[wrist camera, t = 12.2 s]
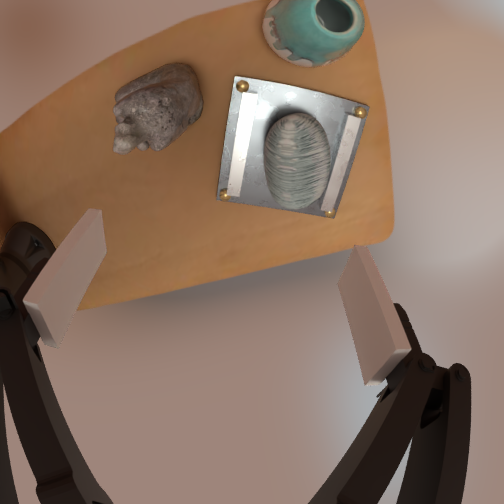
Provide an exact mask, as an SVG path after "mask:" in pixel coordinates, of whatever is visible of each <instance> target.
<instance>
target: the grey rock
mask: <svg viewBox="0 0 504 504" xmlns="http://www.w3.org/2000/svg"><path fill="white" fill-rule="evenodd" d="M330 165H331V158H330V146H329V142H328V138H327V135H326V132H325V130H324V129H323V127H322V125H321V124H320V122H319V121H318V120H317V119H315V118H314V117H312V116H310V115H307V114H303V113H294V114H290V115H287V116H285V117H283V118H281V119H280V120H278V121H277V122H276V123H275V124H274V125H273V126H272V127H271V129H270V130H269V132H268V134H267V137H266V140H265V145H264V169H265V175H266V180H267V184H268V189H269V191H270V193H271V195H272V197H273V199H274V200H275V201H276V202H277V203H278V204H280V205H281V206H283V207H285V208H288V209H293V210H296V209H302V208H305V207H307V206H309V205H311V204H312V203H314V202H315V201H316V200H317V199H318V198H319V197H320V196H321V194H322V193H323V191H324V189H325V187H326V185H327V181H328V177H329V171H330Z"/></svg>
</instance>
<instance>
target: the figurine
mask: <svg viewBox="0 0 504 504" xmlns="http://www.w3.org/2000/svg"><path fill="white" fill-rule="evenodd" d="M115 100H116V105H115V106H114V108H113V113H114V115H115V116H116V121H117V123H119V124H118V125H117V126H116V127H115V134H116V135H115V138H114V146H113V151H114V152H116V153H118V154H122V155H125V154H128V153H129V152H131V151H132V150H133V149H134V148H135V147H137V148H138V149H139V150H141V151H144V150H147V149H148V148H149V146H150V147H151V149H153V150H155V151H160V150H162V149H164V148H166V147H167V146H169V145H170V144H171V143H172V142H173V141H175V140H176V139H177V138H178V137H179V136H180V135H181V134H182V133H183V132H184V131H185V130H186V129H187V127H188V126H189V125H191V124H193V123H194V122H195V121H196V120H197V119H198V118H199V117H200V116H201V112H202V109H203V99H202V94H201V92H200V89H199V83H198V80H197V77H196V75H195V73H194V71H193V70H192V69H191V67H190V66H188V65H184V64H178V63H174V64H167V65H164V66H162V67H160V68H157V69H155V70H154V71H152V72H150V73H148V74H145V75H144V76H142V77H139V78H137V79H135V80H133V81H132V82H130V83H128V84H127V85H125V86H123V87H122V88H120V89H119V90H118V91H117V93H116V95H115Z"/></svg>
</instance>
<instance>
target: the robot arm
mask: <svg viewBox="0 0 504 504" xmlns="http://www.w3.org/2000/svg"><path fill="white" fill-rule="evenodd" d="M106 253H107V250H106V243H105V235H104V227H103V219H102V210H99V209H90V208H89V209H88V210H87V211H86V212H85V214H84V215H83V216H82V217H81V219H80V220H79V221H78V222H77V224H76V225H75V226H74V227H73V229H72V230H71V231H70V232H69V234H68V235H67V236H66V238H65V239H64V240H63V242H62V243H61V244H60V246H59V247H58V248H57V250H55V248H54V246H53V244H52V242H51V241H50V239H49V238H48V237H47V236H46V235H45V234H44V233H43V232H42V231H41V230H40V229H39V228H37V227H36V226H34V225H32V224H29V223H25V222H20V223H17V224H15V225H14V226H13V227H12V228H11V229H10V230H9V231H8V233H7V234H6V237H5V241H4V243H3V245H2V247H1V250H0V504H19V502H18V498H17V494H16V490H15V485H14V480H13V475H12V470H11V465H10V459H9V452H8V445H7V437H6V427H5V415H4V394H3V383H4V387H5V391H6V395H7V399H8V403H9V406H10V410H11V413H12V417H13V420H14V423H15V426H16V429H17V432H18V435H19V438H20V441H21V444H22V447H23V449H24V452H25V455H26V457H27V460H28V462H29V464H30V467H31V469H32V471H33V474H34V476H35V478H36V481H37V487H36V494H37V496H38V499H39V501H40V503H41V504H113V502H112V501H111V499H110V498H109V497H108V495H107V494H106V492H105V491H104V490H103V489H102V488H101V487H100V486H99V484H98V483H97V481H96V479H95V478H94V476H93V474H92V473H91V471H90V469H89V467H88V465H87V464H86V462H85V460H84V458H83V456H82V454H81V452H80V450H79V448H78V446H77V444H76V442H75V440H74V438H73V436H72V434H71V432H70V429H69V427H68V425H67V423H66V420H65V418H64V416H63V414H62V411H61V409H60V406H59V404H58V401H57V399H56V396H55V393H54V391H53V388H52V385H51V382H50V380H49V377H48V374H47V371H46V368H45V364H44V362H43V358H42V355H41V352H40V348H39V346H38V344H37V342H38V340H39V338H40V337H41V338H42V341H43V342H44V344H45V345H48V346H51V347H55V348H59V346H60V344H61V342H62V340H63V338H64V335H65V333H66V331H67V329H68V327H69V325H70V322H71V320H72V318H73V316H74V314H75V312H76V310H77V308H78V306H79V304H80V302H81V300H82V298H83V296H84V294H85V292H86V290H87V288H88V286H89V284H90V282H91V281H92V279H93V277H94V275H95V273H96V271H97V269H98V268H99V266H100V264H101V262H102V260H103V259H104V257H105V255H106ZM338 287H339V290H340V294H341V297H342V300H343V304H344V307H345V311H346V315H347V318H348V322H349V325H350V329H351V333H352V336H353V340H354V344H355V348H356V352H357V356H358V360H359V363H360V368H361V372H362V376H363V380H364V384H365V386H371V385H380V384H381V383H382V382H383V381H384V380H385V378H386V380H387V383H388V385H387V386H386V387H385V388H384V389H383V390H382V391H381V392H380V393H379V394H378V395H377V397H379V396H380V395H381V396H380V398H379V399H378V401H377V403H376V405H375V407H374V408H373V410H372V412H371V413H370V415H369V417H368V419H367V420H366V422H365V424H364V425H363V427H362V429H361V430H360V432H359V433H358V435H357V437H356V438H355V440H354V441H353V443H352V444H351V446H350V447H349V449H348V450H347V452H346V453H345V455H344V457H343V458H342V459H341V461H340V462H339V464H338V465H337V467H336V468H335V469H334V471H333V472H332V473H331V475H330V476H329V478H328V479H327V480H326V482H325V483H324V484H323V485H322V487H321V488H320V489H319V491H318V492H317V493H316V494H315V496H314V497H313V498H312V499H311V501H310V502H309V503H308V504H377V503H378V502H379V500H380V498H381V497H382V495H383V493H384V492H385V490H386V488H387V486H388V485H389V483H390V481H391V479H392V477H393V475H394V474H395V471H396V470H397V468H398V466H399V464H400V462H401V460H402V458H403V456H404V454H405V452H406V450H407V448H408V445H409V443H410V441H411V439H412V443H411V448H410V452H409V457H408V461H407V466H406V470H405V474H404V478H403V482H402V485H401V489H400V493H399V496H398V499H397V503H396V504H461V502H462V497H463V491H464V485H465V479H466V472H467V464H468V454H469V444H470V428H471V377H470V373H469V371H468V370H467V368H466V367H465V366H463V365H462V364H459V363H455V364H453V365H452V366H451V367H450V368H449V369H447V368H443V367H439V366H436V363H435V361H434V360H433V358H432V357H430V356H429V355H427V354H425V353H422V350H421V347H420V345H419V342H418V340H417V337H416V335H415V333H414V330H413V329H412V325H411V323H410V322H409V318H408V316H407V314H406V312H405V310H404V309H403V308H402V307H401V305H400V304H398V303H393V302H392V300H391V297H390V295H389V293H388V290H387V288H386V286H385V284H384V281H383V279H382V277H381V275H380V273H379V271H378V268H377V266H376V264H375V262H374V260H373V258H372V256H371V254H370V252H369V250H368V248H367V247H364V246H358V245H354V248H353V250H352V252H351V255H350V257H349V259H348V261H347V264H346V266H345V268H344V270H343V273H342V275H341V277H340V279H339V282H338ZM412 437H413V438H412Z"/></svg>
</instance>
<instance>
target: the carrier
mask: <svg viewBox="0 0 504 504" xmlns="http://www.w3.org/2000/svg"><path fill="white" fill-rule="evenodd" d="M368 111H369V106H367V105H364V104H361V103H358V102H354V101H351V100H348V99H344V98H341V97H337V96H333V95H330V94H326V93H322V92H318V91H314V90H310V89H305V88H301V87H297V86H292V85H287V84H282V83H277V82H272V81H266V80H260V79H254V78H248V77H241V76H235V79H234V85H233V91H232V97H231V103H230V109H229V115H228V122H227V128H226V135H225V141H224V148H223V155H222V162H221V169H220V177H219V184H218V192H217V200H221V201H228V202H235V203H242V204H249V205H255V206H262V207H268V208H275V209H281V210H287V211H293V212H299V213H305V214H311V215H317V216H323V217H328V218H335V215H336V212H337V209H338V206H339V203H340V200H341V197H342V194H343V192H344V189H345V186H346V183H347V179H348V176H349V173H350V170H351V167H352V164H353V161H354V158H355V154H356V151H357V148H358V145H359V141H360V138H361V135H362V131H363V128H364V125H365V121H366V118H367V114H368ZM294 113H303V114H307V115H310V116H312V117H314V118H315V119H317V120H318V121H319V122H320V124H321V125H322V127H323V129H324V130H325V132H326V135H327V138H328V142H329V146H330V158H331V165H330V171H329V177H328V181H327V185H326V187H325V189H324V191H323V193H322V194H321V196H320V197H319V198H318V199H317V200H316V201H315V202H314V203H312V204H311V205H309V206H307V207H305V208H302V209H296V210H293V209H288V208H285V207H283V206H281V205H280V204H278V203H277V202H276V201H275V200H274V199H273V197H272V195H271V193H270V191H269V189H268V184H267V180H266V175H265V169H264V145H265V140H266V137H267V134H268V132H269V130H270V129H271V127H272V126H273V125H274V124H275V123H276V122H277V121H278V120H280V119H281V118H283V117H285V116H287V115H290V114H294Z"/></svg>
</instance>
